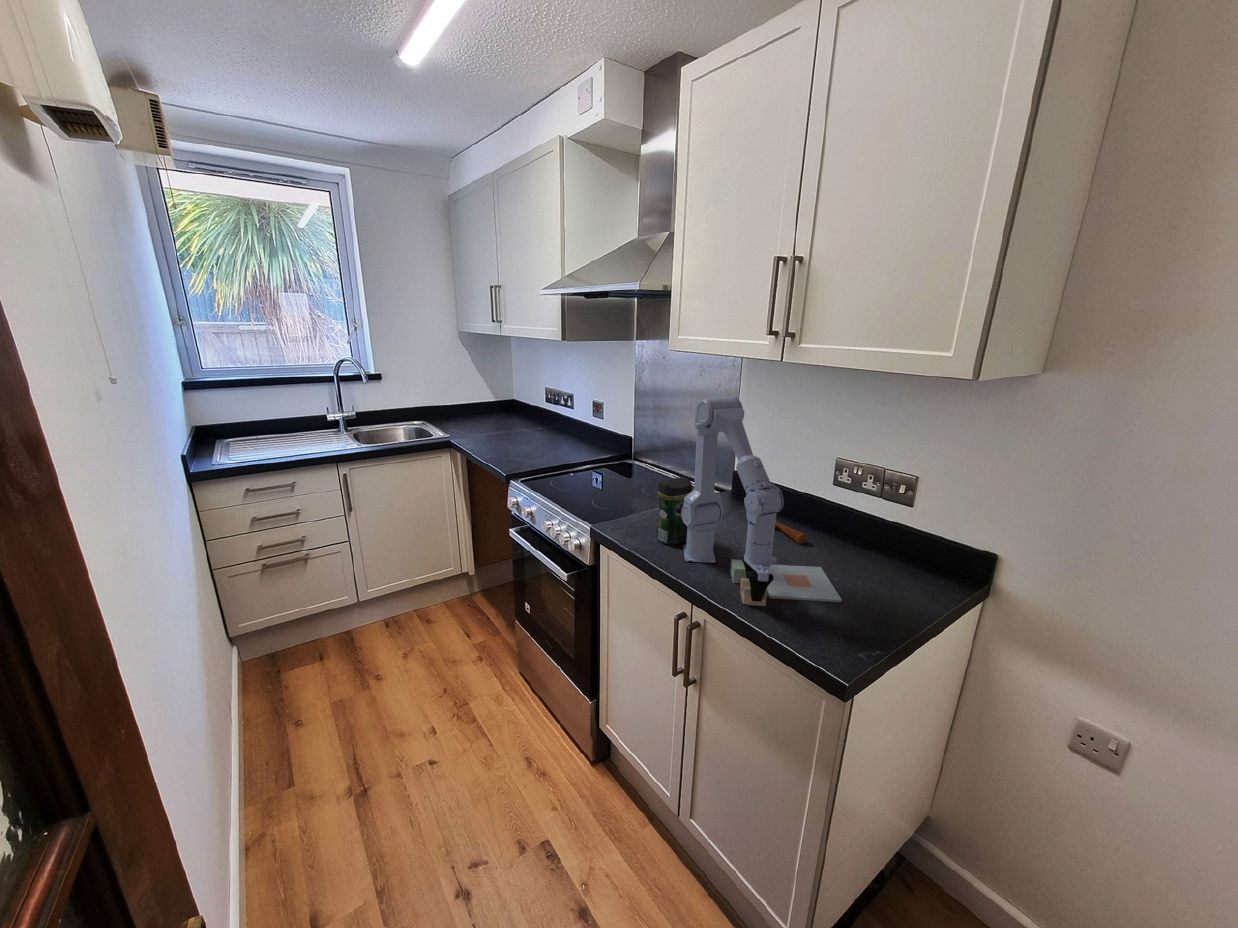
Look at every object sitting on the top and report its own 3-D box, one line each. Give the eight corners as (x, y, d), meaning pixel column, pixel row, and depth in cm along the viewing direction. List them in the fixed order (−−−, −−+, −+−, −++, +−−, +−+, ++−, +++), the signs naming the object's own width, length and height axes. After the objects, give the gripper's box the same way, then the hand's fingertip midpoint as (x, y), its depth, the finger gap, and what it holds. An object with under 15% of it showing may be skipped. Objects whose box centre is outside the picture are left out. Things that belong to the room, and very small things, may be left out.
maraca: (794, 534, 144) (748, 506, 160) (794, 551, 146) (748, 522, 163) (810, 527, 146) (762, 500, 162) (809, 544, 148) (762, 516, 165)
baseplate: (757, 565, 133) (758, 563, 133) (820, 569, 132) (820, 567, 131) (770, 598, 117) (770, 595, 117) (841, 602, 116) (841, 599, 116)
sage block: (730, 573, 129) (731, 559, 128) (750, 574, 128) (751, 560, 127) (733, 583, 124) (734, 568, 123) (753, 584, 124) (755, 569, 123)
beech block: (739, 593, 119) (741, 577, 118) (761, 594, 119) (763, 579, 118) (743, 604, 115) (744, 588, 113) (765, 606, 114) (767, 590, 113)
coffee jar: (677, 531, 153) (680, 472, 148) (694, 541, 147) (698, 480, 142) (651, 537, 149) (653, 477, 143) (666, 548, 142) (669, 485, 137)
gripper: (785, 555, 105) (779, 612, 109) (771, 527, 119) (765, 579, 123) (751, 553, 106) (745, 610, 110) (741, 526, 120) (736, 577, 124)
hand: (754, 594), depth 116 cm, fingers closed on beech block, 5 cm apart
